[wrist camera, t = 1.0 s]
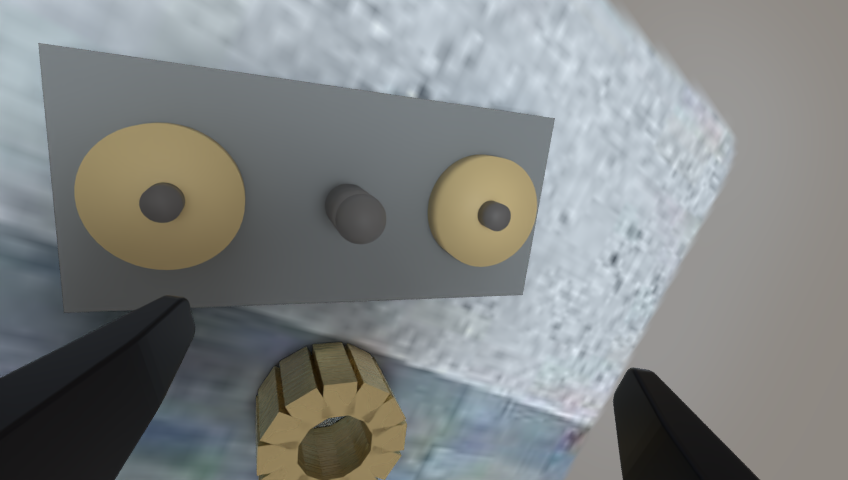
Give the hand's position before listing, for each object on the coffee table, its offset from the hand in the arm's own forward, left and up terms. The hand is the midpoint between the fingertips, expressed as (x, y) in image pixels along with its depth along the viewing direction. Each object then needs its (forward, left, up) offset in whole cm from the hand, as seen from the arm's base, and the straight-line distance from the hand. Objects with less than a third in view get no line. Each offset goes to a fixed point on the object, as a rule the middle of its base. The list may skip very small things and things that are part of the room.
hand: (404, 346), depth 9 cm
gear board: (+1, -1, -12) cm, 12 cm away
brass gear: (-10, -1, -12) cm, 15 cm away
